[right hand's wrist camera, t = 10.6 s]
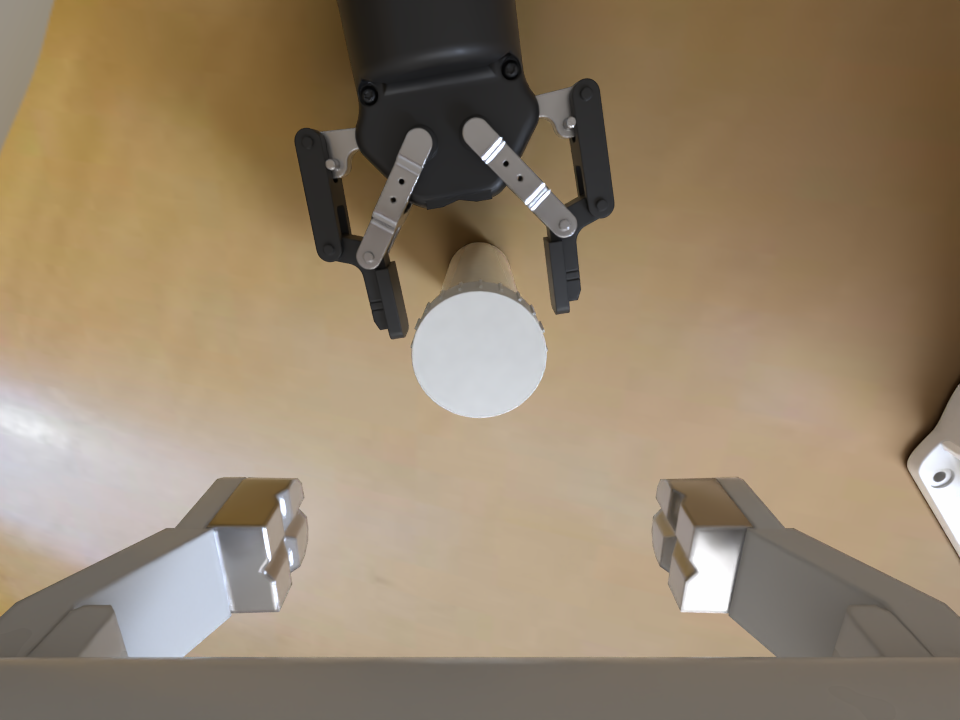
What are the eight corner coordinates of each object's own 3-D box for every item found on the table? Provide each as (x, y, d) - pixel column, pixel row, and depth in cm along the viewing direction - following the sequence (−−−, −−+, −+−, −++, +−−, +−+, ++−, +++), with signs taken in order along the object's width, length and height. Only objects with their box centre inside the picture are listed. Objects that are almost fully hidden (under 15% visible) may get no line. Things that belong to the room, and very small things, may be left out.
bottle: (438, 290, 34) (408, 380, 19) (462, 231, 32) (448, 281, 18) (495, 313, 34) (507, 418, 20) (520, 257, 33) (552, 324, 19)
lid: (396, 374, 20) (389, 391, 19) (442, 257, 19) (439, 265, 17) (511, 418, 21) (514, 438, 20) (565, 309, 20) (572, 321, 18)
